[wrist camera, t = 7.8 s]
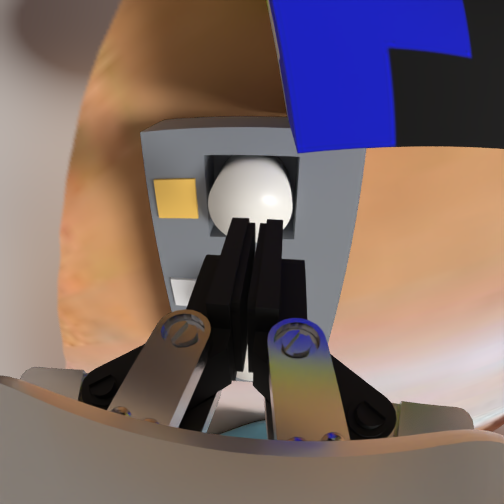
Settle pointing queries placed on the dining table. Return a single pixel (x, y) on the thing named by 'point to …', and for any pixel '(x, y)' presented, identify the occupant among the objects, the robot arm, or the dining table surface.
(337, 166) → the button board
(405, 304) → the dining table surface
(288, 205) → the button
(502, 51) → the puzzle toy
